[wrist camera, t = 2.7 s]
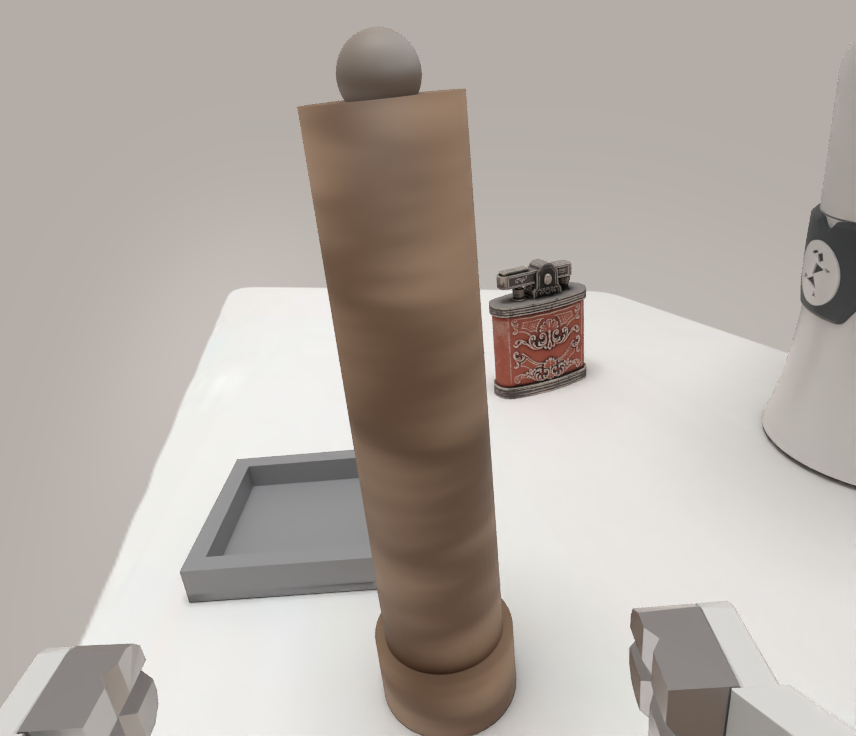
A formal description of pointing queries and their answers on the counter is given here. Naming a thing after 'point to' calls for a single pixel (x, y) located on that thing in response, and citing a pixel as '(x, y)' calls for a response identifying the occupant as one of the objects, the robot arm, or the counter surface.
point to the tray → (283, 531)
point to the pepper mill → (414, 378)
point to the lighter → (538, 329)
